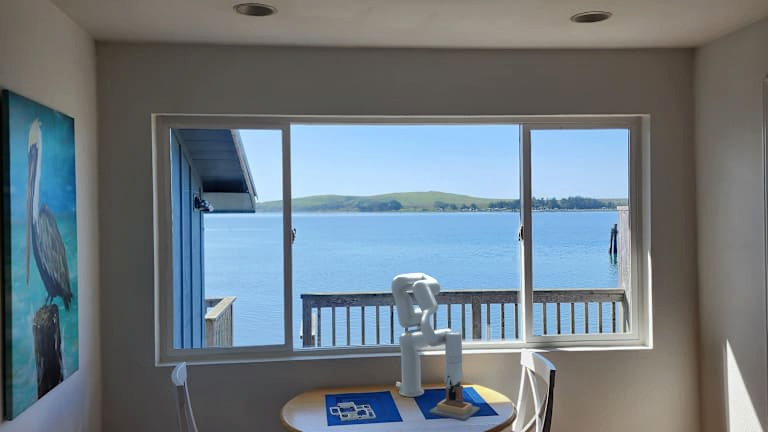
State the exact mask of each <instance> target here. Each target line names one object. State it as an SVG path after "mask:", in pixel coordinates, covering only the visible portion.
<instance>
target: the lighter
mask: <svg viewBox="0 0 768 432" xmlns="http://www.w3.org/2000/svg"><path fill="white" fill-rule="evenodd" d="M451 384H452V383H451ZM446 386H447V384H445V399H446V402H449V403H459V404H462V403H463V402H464V398H463V397H464V394H463V393H464V391H463V390H464V386H463V385H461V384H460V381H459V382H458V384H456V385H455V392H456V400H455V401H454V400H449V391H448V388H446ZM451 387H452V388H453V386H451Z"/></svg>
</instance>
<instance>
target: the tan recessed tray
mask: <svg viewBox="0 0 768 432" xmlns="http://www.w3.org/2000/svg"><path fill="white" fill-rule="evenodd" d="M480 409H481V407H479V406H474V405H473V403H470V402H465V401H463V403H462V404H459V403H449V402H446V398H444V399H442V400H441V401H439V402H438V403H437V404H436V406H435V407H433V408H431V409H430V410H428V414H430V415H436V416H440V417H444V418H450V419H455V420H460V421H465V422H466V421H467V420H468V419H470V418H471V417H473V416H474V415H475V414H476V413H477V412H478V411H480Z"/></svg>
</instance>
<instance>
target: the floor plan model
mask: <svg viewBox="0 0 768 432" xmlns="http://www.w3.org/2000/svg"><path fill="white" fill-rule="evenodd" d="M338 406H340V407H338ZM364 406H367V407H366V408H365V407H364ZM350 407H353V409H354V411H345V412H341V411H340V410H341V409H340V408H343V409H351V408H350ZM332 409H337V412H334V413H333V410H332ZM361 410H364V412H365V411H366V412H365V413H366V414H361V415H362V416H361V415H358V414H359V412H362V411H361ZM329 412H330V414H332V415H336V416H339V415H340V416H339V418H341V419H340V421H341V422H344V421H346V420H347V421H355V420H357V419H358V421H359V420H369V419H376V418H377V416H376V415H375V413H374V410H373V409H372V408H371V406H370V404H363V405H356V404H355V403H354V402H353V401H350V402H341V403H340V402H339V403H337V406H334V407H329ZM369 412H370V413H369ZM357 413H358V414H357ZM370 414H371V415H372V416H370ZM332 415H331V416H332ZM342 415H344V416H345V417H343V416H342ZM347 415H348V416H347ZM346 416H347V417H346ZM359 417H361V418H359Z"/></svg>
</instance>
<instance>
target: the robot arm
mask: <svg viewBox="0 0 768 432" xmlns="http://www.w3.org/2000/svg"><path fill="white" fill-rule="evenodd" d="M390 286H391V288H390V289H391V293H392V295H393V299H394V301H395V306H396V311H397V313H396V314H397V318H398V323H399V326H400V327H401V328H403V329H407V328H408V330H405V331H403V332H402V333H401V334H400V335H399V337H398V341H399V348H400V355H401V357H400V359H401V382H400V381H396V383H395V387H396V388H399V390H398V394H399V395H401V396H403V397H408V398H409V397H411V398H413V397H414V398H415V397H420V396H422V395H424V393H425V390H424V388H422V382H421V357H420V354H419V353H418V351H417V349H422V348H425V347H426V348H427V347H431V348H432V347H433V348H434V347H440V346H443V345H444V346H445V365H444V366H445V367H444V380H443V381H444V384H445V389H446V388H448V391H449V400H454V401H455V400H456V392H455V385H456V384H458V382H459V381H460V385H461V383H462V381H463V343H462V340H463V338H462V337H463V336H462V333H461V332H460V331H456V330H453V329H451V328H449V327H443V328H437V329H433V328H432V325H431V322H430V320H431V316H432V315H433V314H435V313H436V312H438V310H439V304H438V302H437V300H436V297H435V296H438V295H439V294H440V292H441V285H440V283H439V282H438V281H437V279H436V278H434V277H432V276H429V275H427V274H425V273H423V272H413V273H404V274H403V273H402V274H398V275H396V276H395V277H394V278H393V279H392V281H391V285H390ZM408 291H412V293H413V295H414V298H415V301H416V302H417V304H418V306H416V307H414V303H413V299H412V297H411V295H410V294H409V293H408ZM414 327H416V329H410V330H409V328H414ZM451 383H452V384H451ZM446 385H447V386H446ZM451 386H453V388H452V387H451Z"/></svg>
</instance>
